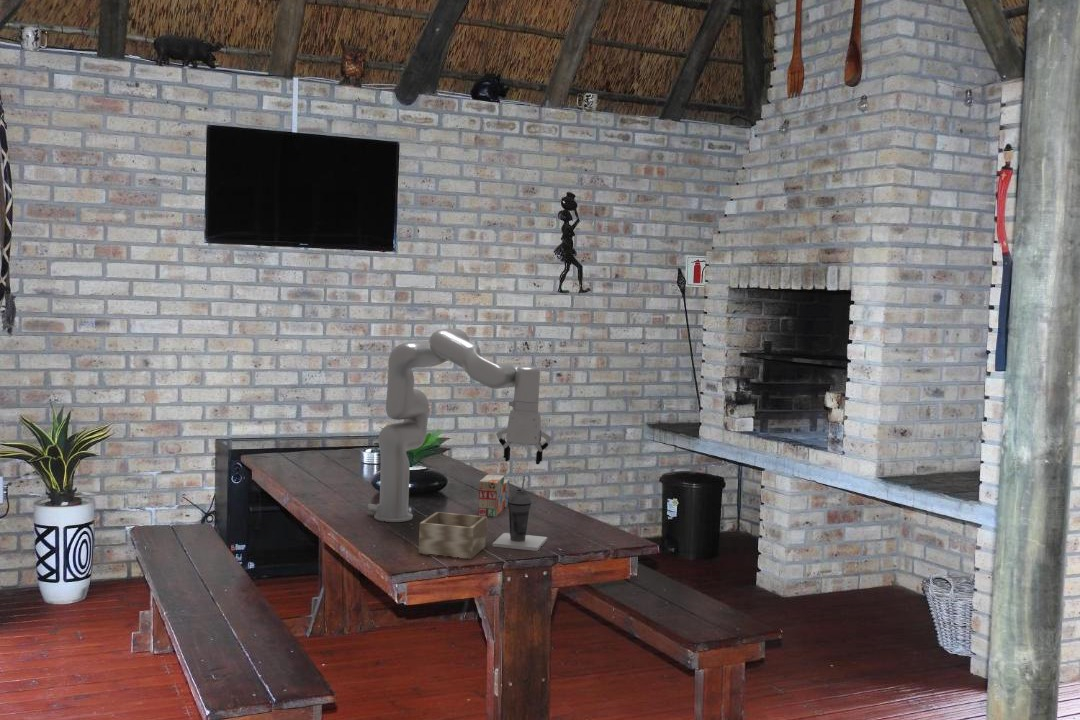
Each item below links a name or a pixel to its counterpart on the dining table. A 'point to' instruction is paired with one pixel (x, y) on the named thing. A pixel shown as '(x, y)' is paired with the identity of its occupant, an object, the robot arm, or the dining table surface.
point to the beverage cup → (518, 513)
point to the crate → (453, 535)
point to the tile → (529, 543)
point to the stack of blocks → (493, 495)
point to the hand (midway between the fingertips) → (522, 462)
